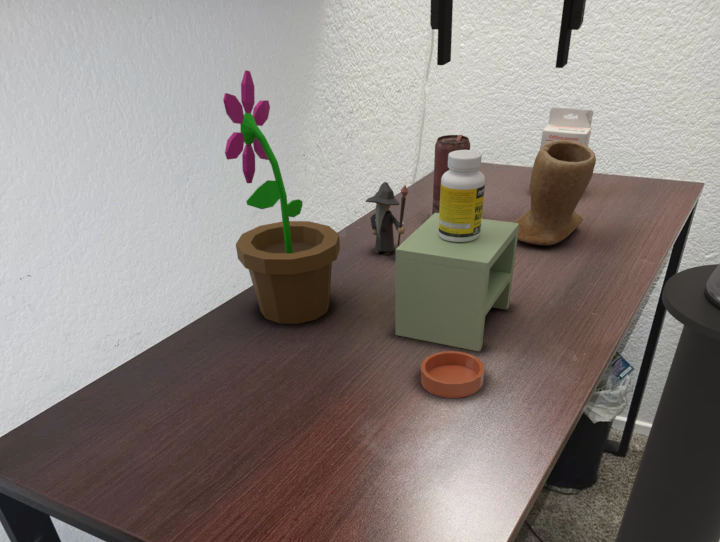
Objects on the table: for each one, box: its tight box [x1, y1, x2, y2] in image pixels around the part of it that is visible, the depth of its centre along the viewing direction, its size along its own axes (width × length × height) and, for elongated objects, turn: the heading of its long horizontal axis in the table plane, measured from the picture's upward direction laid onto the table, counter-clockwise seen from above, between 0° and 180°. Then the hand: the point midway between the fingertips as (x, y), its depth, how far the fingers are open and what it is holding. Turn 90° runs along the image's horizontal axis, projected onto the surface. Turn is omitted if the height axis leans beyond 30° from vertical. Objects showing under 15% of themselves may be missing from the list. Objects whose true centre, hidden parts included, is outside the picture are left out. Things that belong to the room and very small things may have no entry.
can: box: [431, 134, 471, 216], centre depth 118 cm, size 6×6×14 cm
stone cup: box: [513, 140, 597, 246], centre depth 110 cm, size 15×12×15 cm
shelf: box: [394, 213, 519, 352], centre depth 89 cm, size 12×14×12 cm
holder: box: [420, 350, 485, 399], centre depth 80 cm, size 8×8×2 cm
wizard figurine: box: [365, 181, 409, 256], centre depth 108 cm, size 8×6×12 cm
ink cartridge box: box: [539, 106, 594, 150], centre depth 127 cm, size 9×5×15 cm, turn 66°
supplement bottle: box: [438, 149, 486, 242], centre depth 82 cm, size 5×5×10 cm
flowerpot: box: [222, 70, 341, 325], centre depth 88 cm, size 14×14×30 cm
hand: (500, 64), depth 75 cm, fingers open, 13 cm apart
